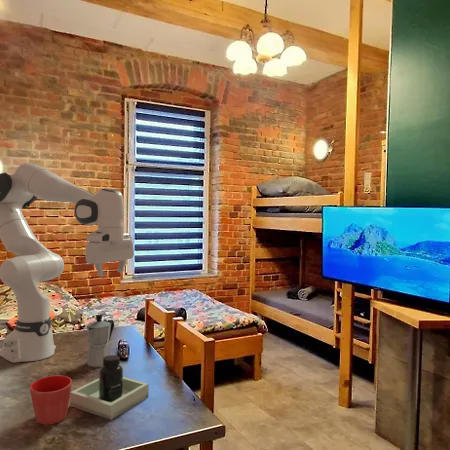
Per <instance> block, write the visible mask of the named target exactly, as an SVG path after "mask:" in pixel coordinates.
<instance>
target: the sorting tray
mask: <svg viewBox="0 0 450 450" xmlns="http://www.w3.org/2000/svg"><path fill="white" fill-rule="evenodd" d="M149 385H150V384H149V383H147V382H144V381H140V380H136V379H133V378H129V377H126V376H123V392H122V397H120V398H118V399H117V400H115V401H111V402H107V401H104V400H101V399H100V398H99V377H98V378H96V379H95V380H93V381H90V382H89V383H86V384H85V385H82V386H80V387H78V388H76V389H74V390H72V391H71V392H70V399H69V406H70V407H73V408H76V409H79V410H82V411H84V412H87V413H90V414H92V415H95V416H99V417H101V418H104V419H107V420H110V421H112V420H113V419H114V418H116V417H118V416H119V415H121V414H123V413H125V412H126V411H127V410H129V409H131V408H132V407H134V406H136V405H138V404H139V403H141V402H142V401H144V400H146V399H147V398H149V395H150V394H149V388H150V387H149Z"/></svg>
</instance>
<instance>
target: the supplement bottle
mask: <svg viewBox="0 0 450 450" xmlns="http://www.w3.org/2000/svg"><path fill="white" fill-rule="evenodd" d="M120 363H121V361H120V356H119V355H116V354H114V355H113V354H110V356H106V357H104V358H103V365H104V366H102V367H99V368H100V369H99V372H98V373H99V377H98V378H99V398H100V399H101V400H104V401H107V402H111V401H115V400H117V399H118V398H120V397H122V392H123V377H124V368H123V367H122V365H120Z"/></svg>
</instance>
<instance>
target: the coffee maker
mask: <svg viewBox="0 0 450 450" xmlns="http://www.w3.org/2000/svg"><path fill="white" fill-rule="evenodd" d="M95 318H96V320H95V321H91V322H89V323H88V324H87V325H86V332H87V340H88V343H89V344H90V345H89V350H88V353H87V362H86V364H87V367H91V368H101V367H102V366H104V365H103V358H104V357H106V356H110V355H111V354H110V350H109V344H108V342H109V341H110V340H111V338H112V337H111V336H112V334H113V331H114V328H115V321H114V319H108V320H107V319H106V318H104V319H103V314H100V313H99V314H96V315H95ZM102 319H103V320H102Z"/></svg>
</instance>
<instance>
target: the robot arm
mask: <svg viewBox="0 0 450 450" xmlns="http://www.w3.org/2000/svg"><path fill="white" fill-rule="evenodd" d="M37 199H40V200H43V201H46V202H53V203H54V202H55V203H56V202H59V203H68V204H69V203H71V204H75V206H74V217H75V219H76V221H77V222H78V223H79V224H81V225H85V226H95V225H97V230H95V231H92V232H91V233H88V234H86V236H85V237H86V238H85V239H86V242H87V243H86V246H85V262H86V263H87V265H94V268H95V270H96V272H97V276H98V277H104V276H105V275H106V273H105V270H103V268H102V267H103V264H105V263H112V262H119V265H118V267H116V268H117V273H120V274H121V273H124V272H125V271H124V270H125V266H126V264H127V260H130V259H133V258H134V255H135V253H134V251H135V250H134V244H133V240H132V236H131V235H130V234H129V233H125V224H124V215H125V204H124V203H125V202H124V197H123V193H122V192H121V191H120V190H118V189H114V188H113V189H112V188H100V189H99V190H98V192H96V193H92V192H91V191H88V190H86V189H84V188H82V187H79V186H78V185H76V184H74V183H72V182H70V181H68V180H66V179H65V178H63V177H62V176H59V175H57V174H56V173H54V172H53V171H51V170H49V169H47V168H46V167H43V166H40V165H38V164H35V163H31V162H24V163H22V164H20V165H19V166H18V167H17V168H16V169H15V172H14V173H12V174H8V173H7V172H2V173H1V172H0V240H1V242H2V244H3V246H4V248H5V249H6V250H7V252H10V253H11V254H15V255H16V256H14V257H12V258H8V259H5V260H4V261H2V263H1V264H0V280H1V282H2V283H3V284H4V285H6V286H7V287H9V288H10V289H11V290H12V292H13V294H14V296H15V298H16V304H17V319H16V320H14V322H13V324H15V327H14V329H13V330H12V331H10V333H9V334H8V335H6V336H5V337H4V339H3V347H2V348H0V357H1V358H3V359H4V360H7V361H8V362H10V363H12V364H14V363H15V364H16V363H22V362H33V361H40V360H41V361H42V360H45V359H47V358H49V357H51V356H53V355H54V354H55V349H56V347H57V346H56V345H55V344H54V336H53V335H54V334H53V333H54V332H53V330H52V328H51V326H52V318H51V315H50V314H51V313H50V298H49V296H48V295H47V294H45V292H44V293H43V291H42V292H41V290H40V288H39V283H42V282H47V281H52V280H54V279H56V278H58V277H59V276H61V275H62V274H63V272H64V271H65V270H64V269H65V262H64V259H63V257H62V256H61V255H60V254H58V253H55V252H53V251H51V250H50V249H48V248H47V247H46V246H45V245H43V243H42V242H41V241H39V239H38V238H37V237H36V236H35V234H34V232H33V230H32V228H31V227H30V225H29V224H28V222H27V219H26V218H25V216H24V213H23V209H27V208H29V207H30V206H31V204H33V203H34V202H36V200H37Z"/></svg>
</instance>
